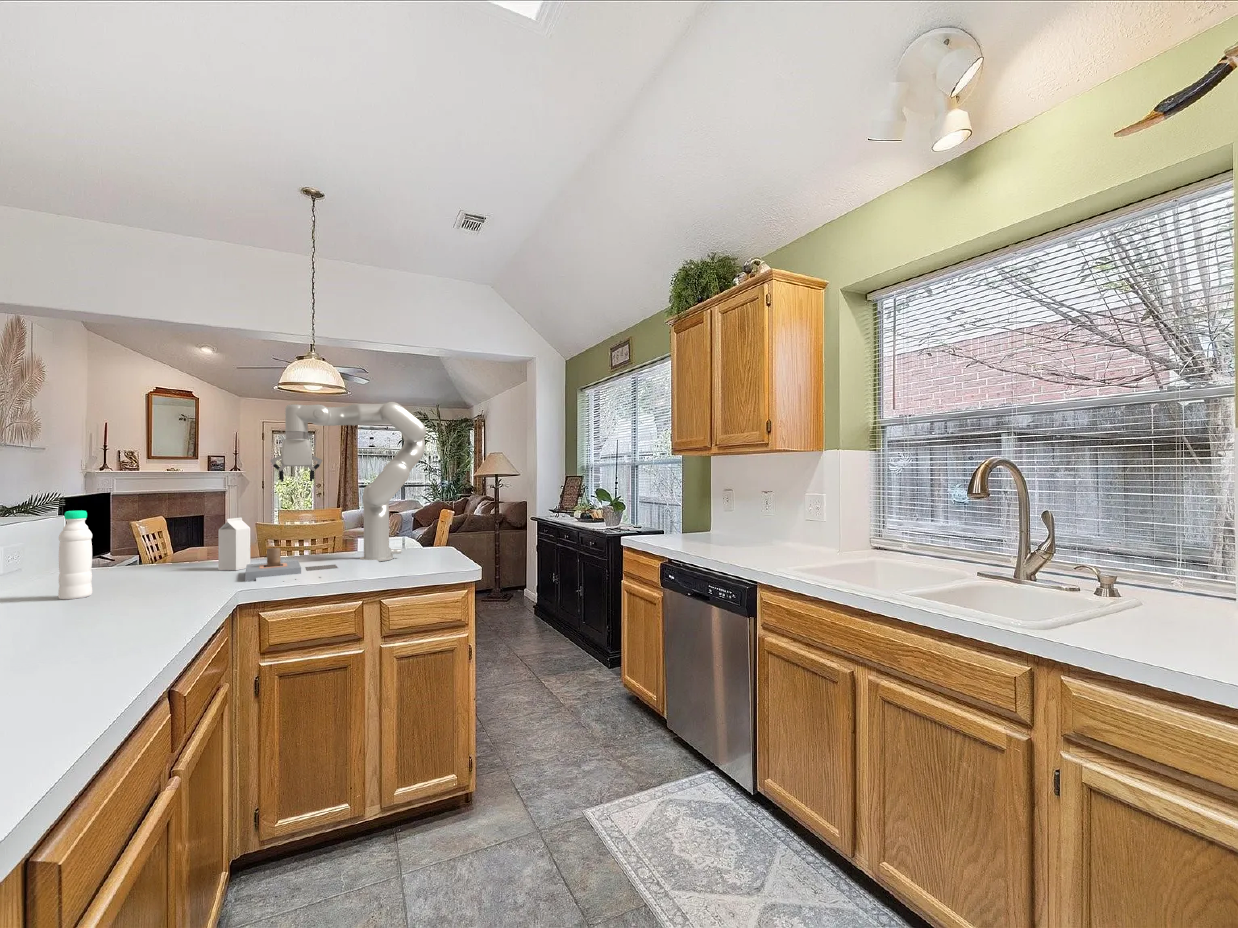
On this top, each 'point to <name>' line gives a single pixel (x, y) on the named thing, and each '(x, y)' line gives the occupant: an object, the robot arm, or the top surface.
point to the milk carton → (233, 545)
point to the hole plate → (271, 570)
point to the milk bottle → (75, 557)
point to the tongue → (321, 567)
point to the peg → (273, 557)
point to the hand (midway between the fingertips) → (296, 481)
